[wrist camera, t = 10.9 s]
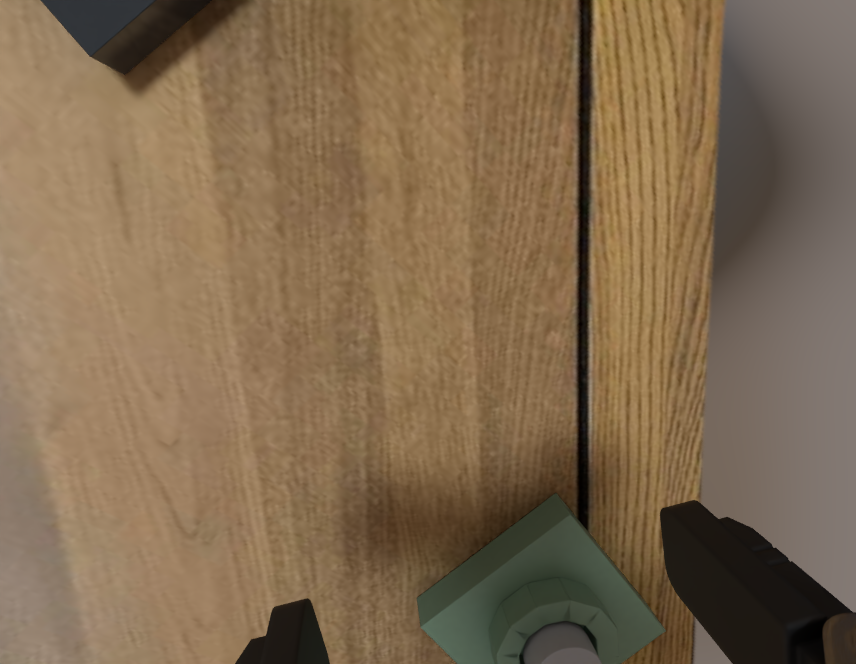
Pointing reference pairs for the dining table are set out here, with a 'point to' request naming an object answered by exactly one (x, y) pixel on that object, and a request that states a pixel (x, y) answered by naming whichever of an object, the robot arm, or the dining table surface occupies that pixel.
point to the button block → (536, 594)
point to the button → (560, 645)
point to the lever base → (122, 26)
